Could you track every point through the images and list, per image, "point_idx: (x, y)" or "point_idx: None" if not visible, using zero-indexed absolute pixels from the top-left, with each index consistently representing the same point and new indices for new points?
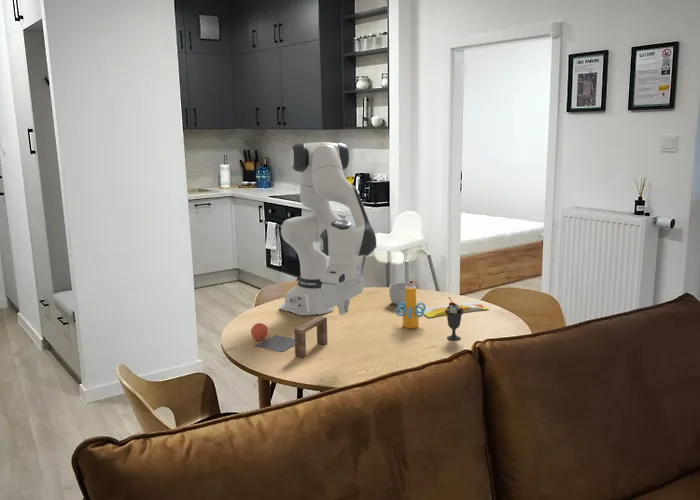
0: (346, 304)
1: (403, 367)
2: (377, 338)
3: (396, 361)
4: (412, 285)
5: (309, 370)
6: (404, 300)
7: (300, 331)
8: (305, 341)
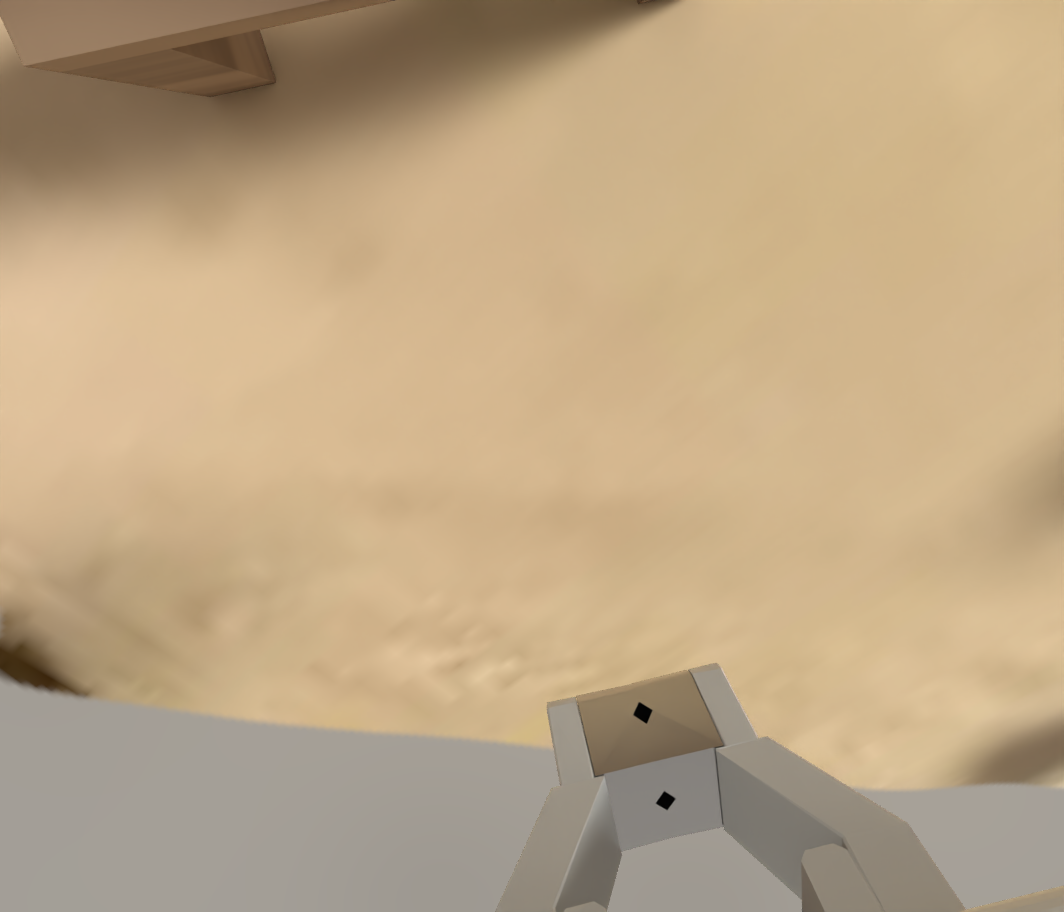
0: (777, 855)
1: None
2: (1054, 308)
3: None
4: None
5: (98, 381)
6: None
7: (20, 35)
8: (217, 66)
